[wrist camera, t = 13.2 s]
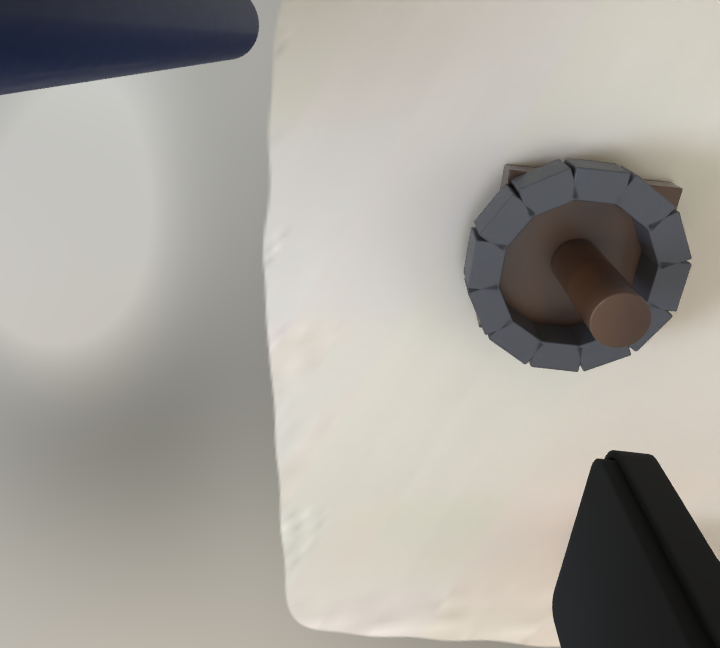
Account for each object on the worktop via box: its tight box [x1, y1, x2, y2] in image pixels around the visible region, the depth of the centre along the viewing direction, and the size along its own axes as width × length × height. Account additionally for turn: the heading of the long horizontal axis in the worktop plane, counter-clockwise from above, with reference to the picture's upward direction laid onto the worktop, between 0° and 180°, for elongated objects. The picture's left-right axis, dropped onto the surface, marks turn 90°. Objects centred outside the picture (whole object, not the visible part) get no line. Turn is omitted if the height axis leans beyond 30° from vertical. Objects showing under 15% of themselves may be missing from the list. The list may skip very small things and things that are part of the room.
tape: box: [464, 158, 691, 372], centre depth 34 cm, size 11×11×2 cm
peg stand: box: [477, 165, 682, 348], centre depth 32 cm, size 9×9×10 cm
